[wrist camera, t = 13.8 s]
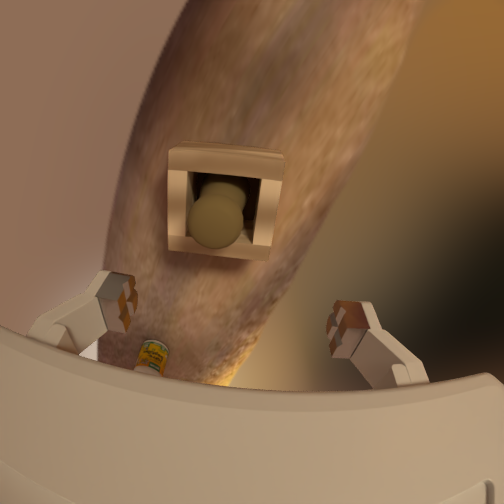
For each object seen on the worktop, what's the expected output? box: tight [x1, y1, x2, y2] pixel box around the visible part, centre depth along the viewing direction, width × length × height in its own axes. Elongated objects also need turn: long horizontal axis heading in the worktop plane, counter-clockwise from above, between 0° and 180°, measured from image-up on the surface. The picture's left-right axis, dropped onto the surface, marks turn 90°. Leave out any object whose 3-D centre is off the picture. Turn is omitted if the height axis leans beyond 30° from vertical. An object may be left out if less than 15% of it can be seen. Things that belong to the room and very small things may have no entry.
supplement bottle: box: [134, 340, 169, 377], centre depth 46 cm, size 5×5×10 cm
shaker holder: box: [168, 141, 285, 262], centre depth 31 cm, size 11×11×6 cm
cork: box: [187, 173, 250, 249], centre depth 29 cm, size 6×6×11 cm
